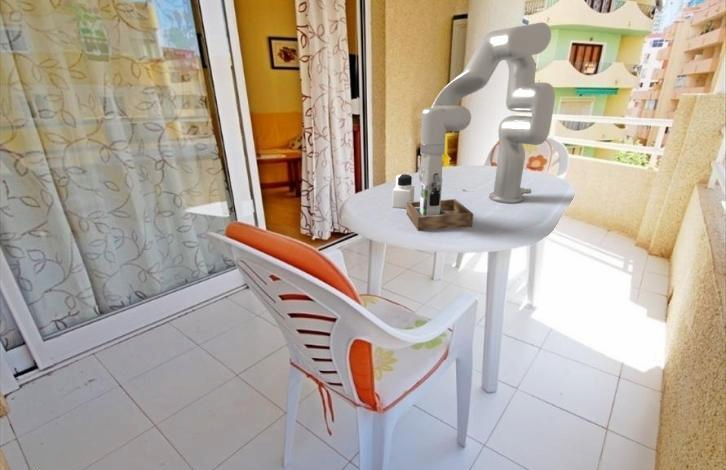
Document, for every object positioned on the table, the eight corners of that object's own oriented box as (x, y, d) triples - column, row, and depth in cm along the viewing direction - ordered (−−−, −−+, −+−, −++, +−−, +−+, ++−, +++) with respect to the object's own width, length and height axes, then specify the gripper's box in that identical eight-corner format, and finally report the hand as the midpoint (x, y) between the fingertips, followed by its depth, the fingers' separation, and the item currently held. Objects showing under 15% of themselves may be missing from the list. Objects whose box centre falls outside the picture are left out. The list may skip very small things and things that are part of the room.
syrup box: (419, 215, 118) (420, 174, 113) (435, 214, 119) (437, 173, 113) (423, 221, 113) (424, 178, 107) (440, 220, 114) (443, 177, 108)
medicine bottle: (414, 203, 134) (414, 173, 130) (410, 209, 128) (411, 178, 123) (396, 202, 137) (396, 172, 132) (392, 207, 130) (392, 177, 126)
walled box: (454, 210, 125) (455, 199, 123) (471, 226, 110) (473, 213, 108) (406, 214, 123) (406, 202, 121) (417, 230, 108) (418, 217, 107)
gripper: (414, 145, 114) (412, 194, 121) (428, 154, 98) (426, 210, 105) (435, 144, 115) (433, 193, 122) (453, 153, 99) (449, 208, 106)
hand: (429, 200), depth 113 cm, fingers open, 9 cm apart
